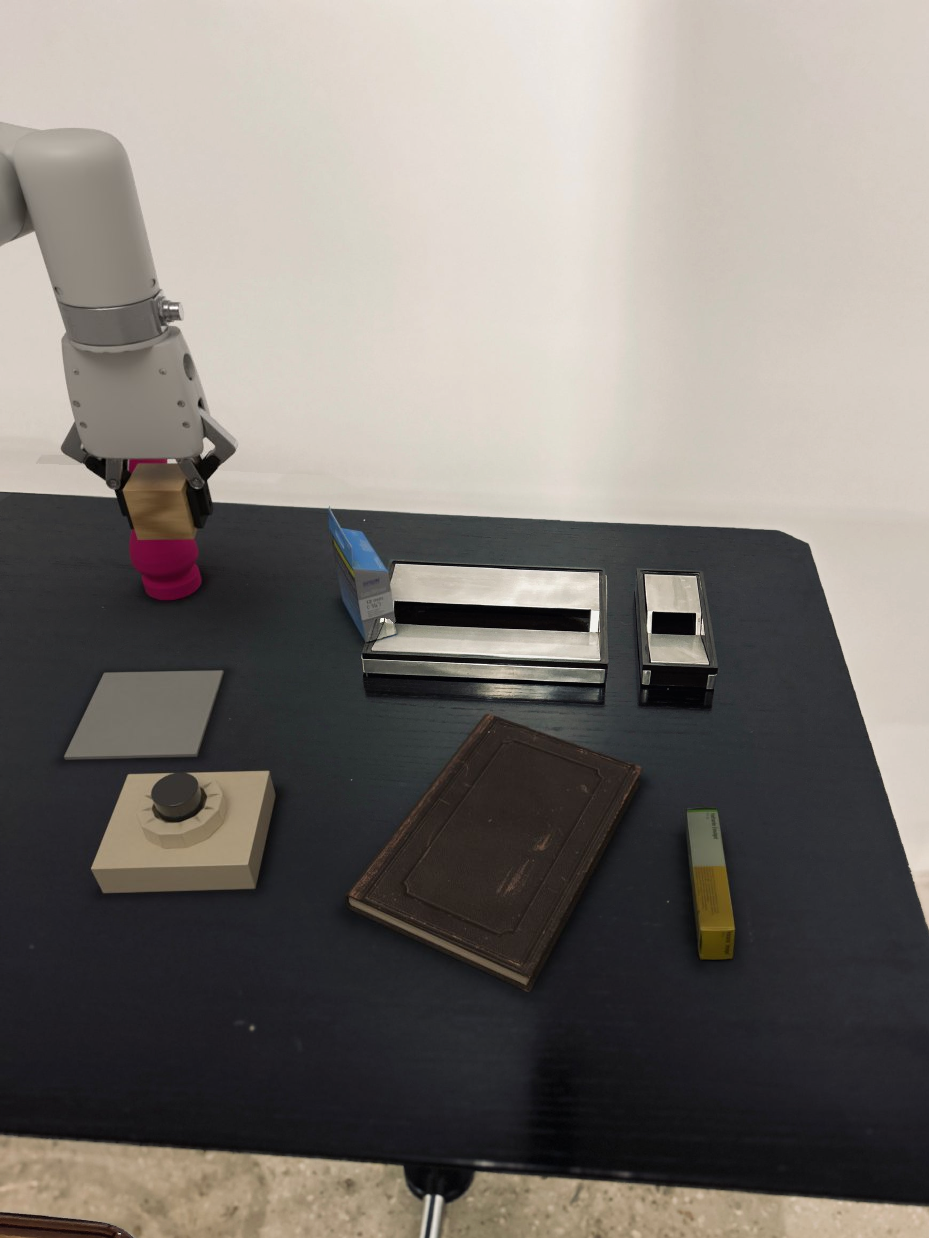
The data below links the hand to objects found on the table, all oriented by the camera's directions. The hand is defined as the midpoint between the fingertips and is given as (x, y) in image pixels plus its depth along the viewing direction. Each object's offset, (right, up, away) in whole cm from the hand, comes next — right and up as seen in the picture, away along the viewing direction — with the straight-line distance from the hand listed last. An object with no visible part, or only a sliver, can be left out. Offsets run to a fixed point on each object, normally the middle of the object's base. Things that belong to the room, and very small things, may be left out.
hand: (170, 519), depth 80 cm
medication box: (+47, -32, -10) cm, 58 cm away
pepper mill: (-8, -4, +21) cm, 23 cm away
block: (0, 0, 0) cm, 1 cm away
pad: (-4, -18, +5) cm, 19 cm away
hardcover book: (+31, -29, -6) cm, 43 cm away
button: (+5, -25, -10) cm, 27 cm away
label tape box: (+15, -8, +17) cm, 24 cm away
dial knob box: (+5, -28, -7) cm, 30 cm away
